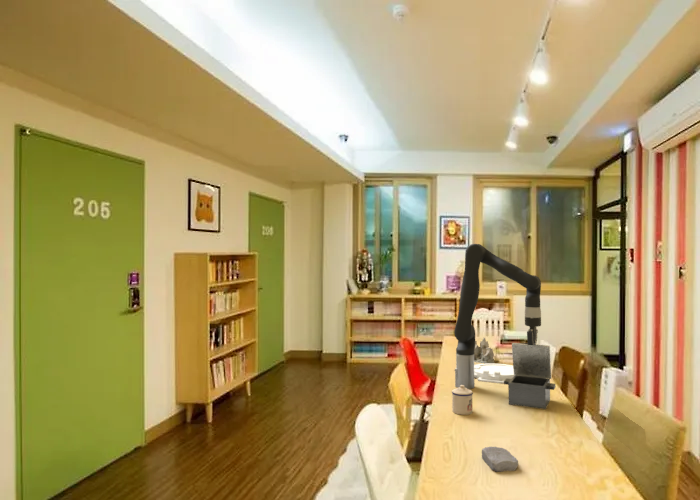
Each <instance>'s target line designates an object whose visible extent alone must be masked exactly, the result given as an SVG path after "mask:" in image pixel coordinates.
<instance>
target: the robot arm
mask: <svg viewBox="0 0 700 500" xmlns="http://www.w3.org/2000/svg"><path fill="white" fill-rule="evenodd" d="M465 249H466V250H465V255H464V270H463V271H464V273H463V276H462V283H461V288H460V294H459V304H458V305H459V306H458V314H457V318H456V319H457V320H456V322H455V323H456V324H455V326H454V331H453V332H454V333H453V334H454V337H455V339H456V340H457V346H456V349H455V351H456V352H455V356H456V358H455V362H456V363H455V368H454V374H455V375H454V383H455V384H454V387H455V388H458V387H460V385H464V386H465V388H467V389H469V390H471V389H474V388H475V385H476V384H475V377H474V365H475V362H474V350H475V341H476V329H475V327H474V325H473V324H472V321H473V316H474V313H475V310H476V307H477V305H478V301H479V295H480V286H481V285H480V277H479V271H480V265H481V263H482V264H485V265H488V266H489V267H491V268H493V269H494V270H495V271H497V272H498V273H500V274H501V275H502V276H504V277H506V278H509V279H510V280H511V281H514V282H515V283H517V284H518V285H520V286H522V287H524V288H525V289H526V290H525V291H526V293H525V294H526V295H525V297H524V302H525V303H524V306H525V307H524V325H525V326H526V327H529V329H528V330H527V331H533V344H535V345H537V341H538V333H539V331H538V329H537V327H538V328H539V327H541V326H542V310H541V290H542V289H541V287H542V283H541V282H542V281H541V279H540V277H539V276H537V275H533V274H530V273H528V272H526V271H524V270H523V269H522V268H520V267H519V266H517V265H515V264H513V263H512V262H509V261H507V260H505V259H503V258H501V257H500V256H498V255H496V254H494V253H493V252H491V251H490V250H489V249H487V248H485V246H484V245H482V244H479V243H472V244H469V245H468V246H467V247H466V248H465Z"/></svg>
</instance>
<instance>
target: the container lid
mask: <svg viewBox="0 0 700 500" xmlns="http://www.w3.org/2000/svg"><path fill="white" fill-rule="evenodd" d="M514 376H515V375H514V369H513V364H508V363H506V364H505V363H495V362H494V363H487V364H483V363H477V364H474V379H477V382H484V383H494V384H500V385H501V384H504V381H505V380H506V378H507V379H512V378H513V377H514ZM518 376H519V375H518ZM504 385H505V384H504Z"/></svg>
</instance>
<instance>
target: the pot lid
mask: <svg viewBox="0 0 700 500" xmlns="http://www.w3.org/2000/svg"><path fill="white" fill-rule="evenodd" d="M526 335H527V336H526V341H527V342H526V343H520V342H512V343H511V350H512V351H511V353H512V365H513V369H514V375H519V376H527V377H537V378H546V379H550V380H552V364H551V361H552V360H551V346H550V345H546V344H544V345H543V344H536V345H535V344H533V331H528V330H527V331H526Z"/></svg>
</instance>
